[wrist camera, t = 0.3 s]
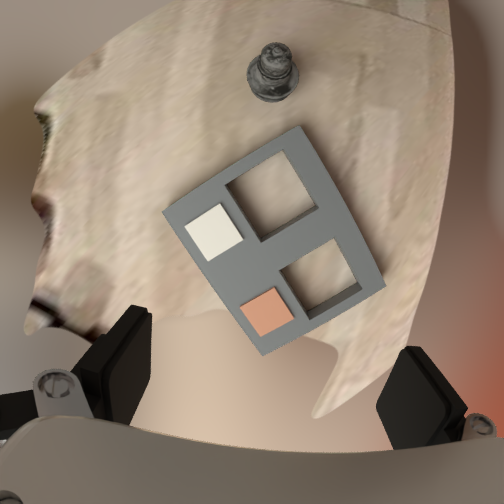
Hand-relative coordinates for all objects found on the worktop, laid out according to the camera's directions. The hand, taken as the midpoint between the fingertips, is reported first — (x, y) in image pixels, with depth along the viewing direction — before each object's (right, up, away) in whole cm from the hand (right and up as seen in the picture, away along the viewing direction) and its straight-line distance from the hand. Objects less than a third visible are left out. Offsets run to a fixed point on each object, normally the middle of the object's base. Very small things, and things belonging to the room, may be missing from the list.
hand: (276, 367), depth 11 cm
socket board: (+3, +5, +29) cm, 30 cm away
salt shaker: (+1, +25, +24) cm, 35 cm away
